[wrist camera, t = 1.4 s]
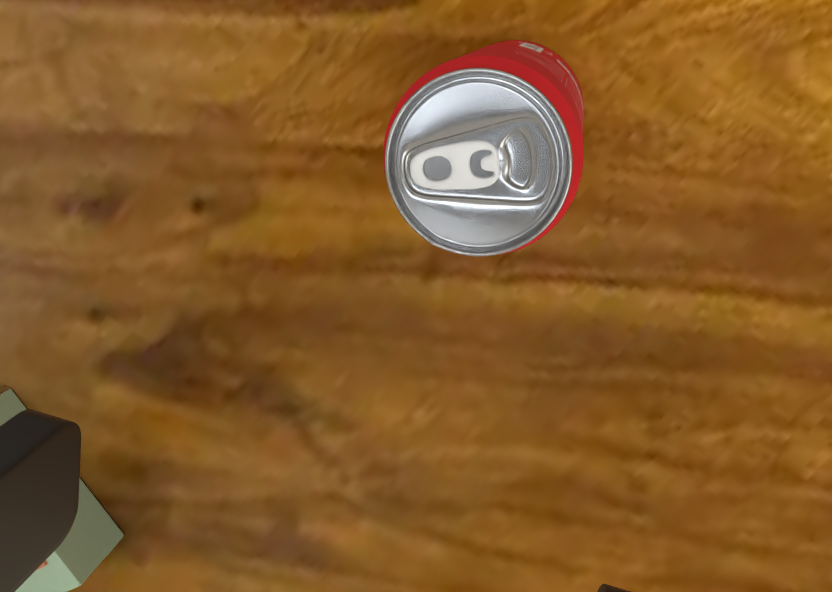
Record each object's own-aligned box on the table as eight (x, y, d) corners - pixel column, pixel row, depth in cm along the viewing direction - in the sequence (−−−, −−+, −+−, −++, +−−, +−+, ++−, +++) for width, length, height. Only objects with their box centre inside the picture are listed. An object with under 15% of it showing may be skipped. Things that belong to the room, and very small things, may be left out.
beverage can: (587, 168, 30) (589, 259, 19) (458, 180, 31) (390, 272, 20) (579, 30, 29) (576, 43, 18) (443, 48, 30) (360, 71, 19)
